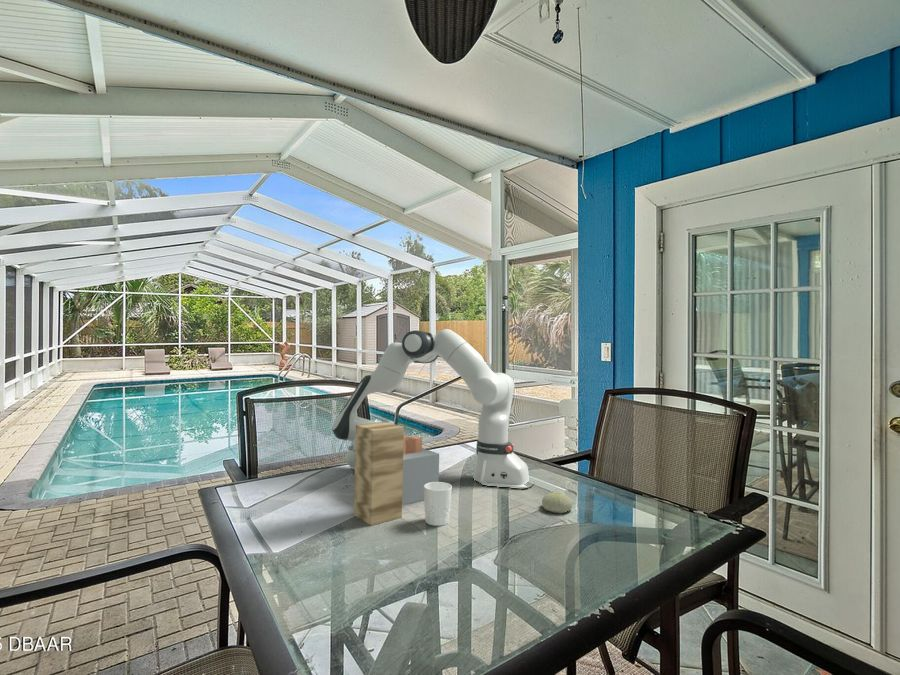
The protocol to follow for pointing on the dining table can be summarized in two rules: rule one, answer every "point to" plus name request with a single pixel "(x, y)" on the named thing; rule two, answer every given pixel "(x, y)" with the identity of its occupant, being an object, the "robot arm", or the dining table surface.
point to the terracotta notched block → (412, 444)
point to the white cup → (437, 503)
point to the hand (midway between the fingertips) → (389, 432)
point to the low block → (418, 474)
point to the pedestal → (378, 472)
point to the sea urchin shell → (557, 502)
